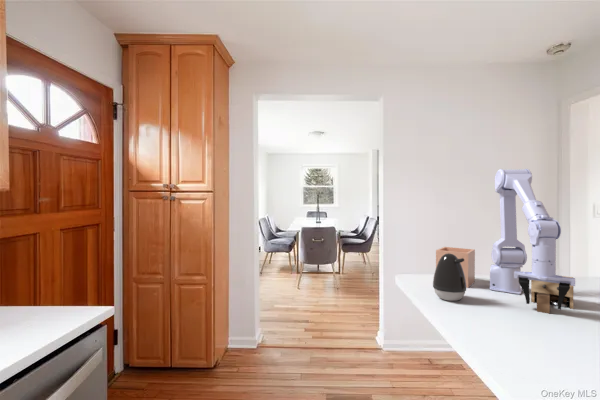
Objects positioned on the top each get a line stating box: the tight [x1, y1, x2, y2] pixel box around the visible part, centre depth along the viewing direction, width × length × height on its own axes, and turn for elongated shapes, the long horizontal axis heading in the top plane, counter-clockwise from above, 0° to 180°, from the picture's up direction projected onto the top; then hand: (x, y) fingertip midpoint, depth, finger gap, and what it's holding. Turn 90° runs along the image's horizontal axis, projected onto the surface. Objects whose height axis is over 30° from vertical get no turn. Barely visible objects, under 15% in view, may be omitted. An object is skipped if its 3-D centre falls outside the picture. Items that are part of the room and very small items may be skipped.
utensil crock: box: [435, 246, 476, 289], centre depth 131 cm, size 12×12×13 cm
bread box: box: [530, 274, 574, 310], centre depth 106 cm, size 10×10×8 cm
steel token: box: [550, 300, 568, 308], centre depth 103 cm, size 4×4×1 cm
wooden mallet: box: [536, 293, 568, 315], centre depth 102 cm, size 7×16×5 cm, turn 141°
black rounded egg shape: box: [432, 253, 467, 302], centre depth 110 cm, size 10×10×15 cm
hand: (543, 305), depth 98 cm, fingers open, 7 cm apart
